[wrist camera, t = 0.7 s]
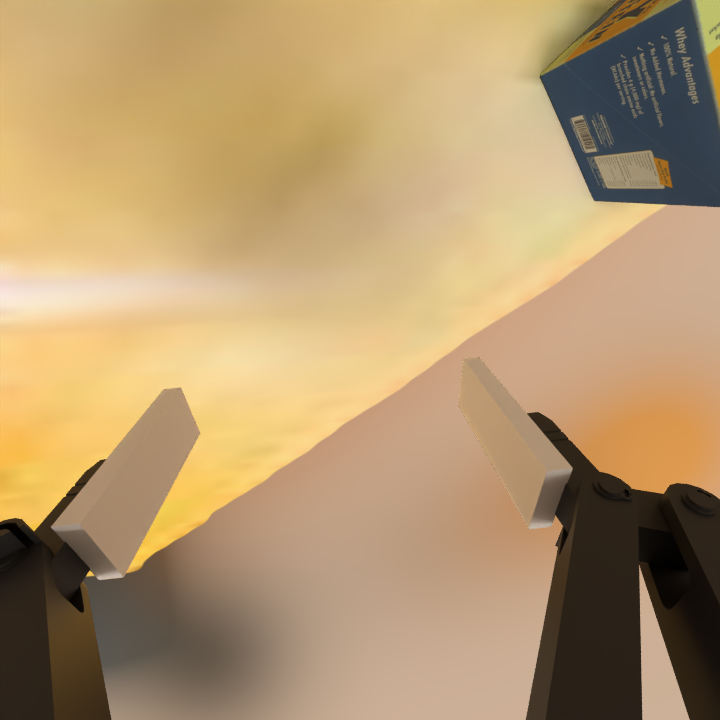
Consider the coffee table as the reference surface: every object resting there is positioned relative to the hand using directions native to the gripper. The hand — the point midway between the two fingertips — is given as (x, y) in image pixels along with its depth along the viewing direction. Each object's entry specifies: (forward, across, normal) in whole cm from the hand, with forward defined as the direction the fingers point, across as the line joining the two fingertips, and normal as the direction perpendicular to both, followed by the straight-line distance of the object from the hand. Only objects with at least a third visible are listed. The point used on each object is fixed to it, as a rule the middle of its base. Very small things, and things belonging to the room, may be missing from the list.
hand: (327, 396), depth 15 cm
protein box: (+28, +31, +14) cm, 44 cm away
